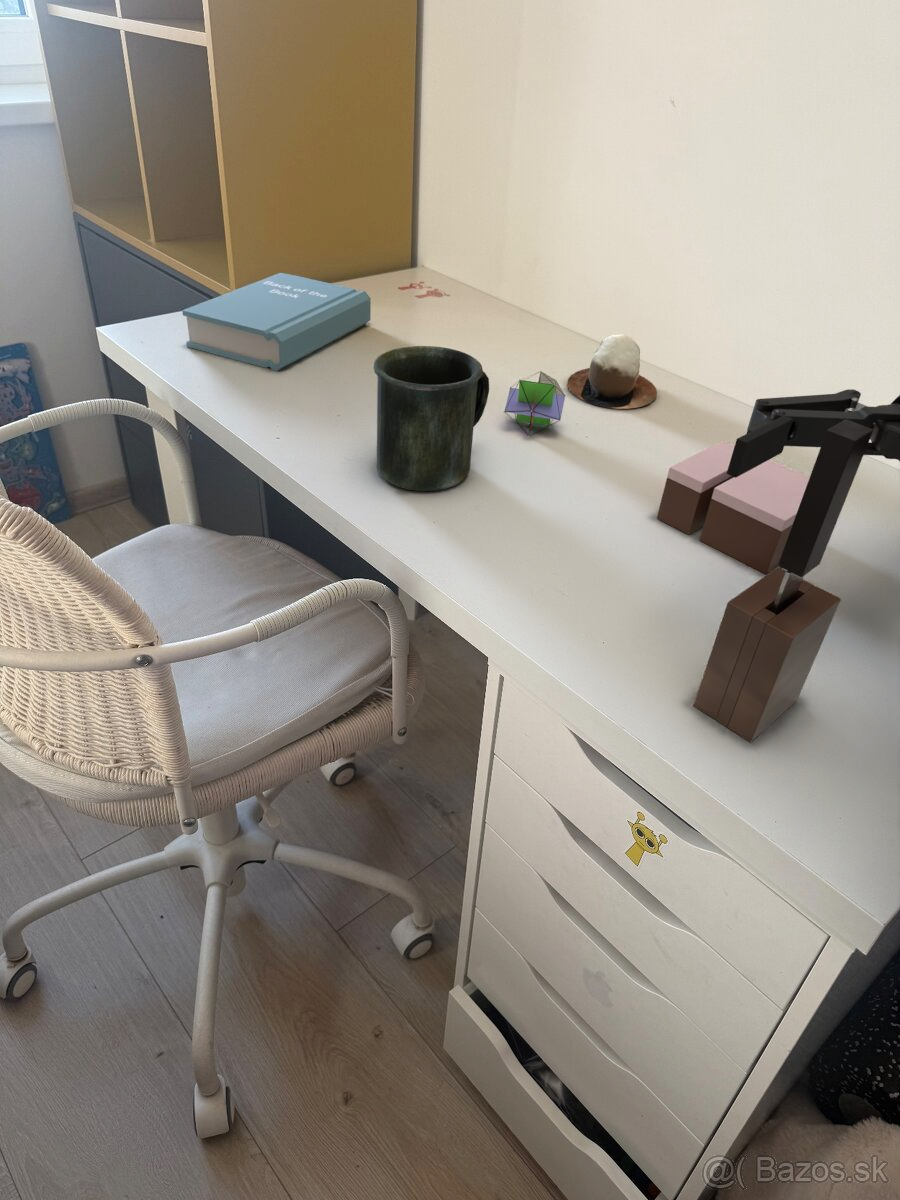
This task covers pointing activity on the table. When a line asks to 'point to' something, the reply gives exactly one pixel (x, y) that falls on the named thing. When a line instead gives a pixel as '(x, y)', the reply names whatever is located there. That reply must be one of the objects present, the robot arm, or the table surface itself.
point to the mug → (427, 415)
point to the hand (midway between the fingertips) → (827, 498)
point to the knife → (821, 506)
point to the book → (276, 320)
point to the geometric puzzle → (536, 401)
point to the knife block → (763, 654)
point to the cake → (755, 514)
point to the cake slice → (694, 487)
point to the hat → (614, 376)
